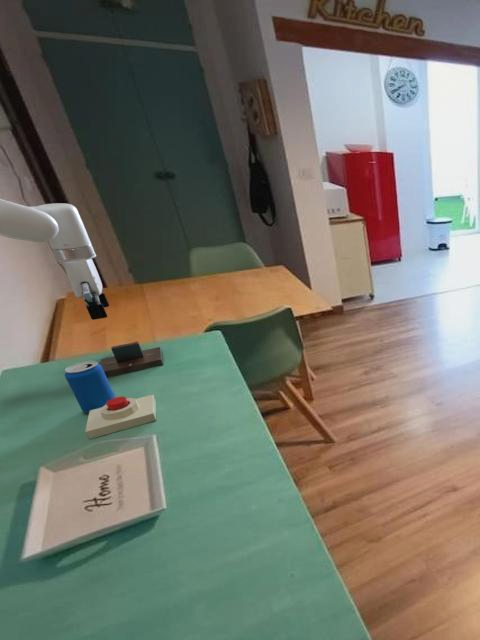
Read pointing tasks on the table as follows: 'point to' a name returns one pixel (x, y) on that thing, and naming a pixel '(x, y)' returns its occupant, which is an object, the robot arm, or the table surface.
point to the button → (117, 403)
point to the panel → (132, 363)
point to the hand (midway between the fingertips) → (101, 312)
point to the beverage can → (89, 385)
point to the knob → (127, 352)
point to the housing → (121, 417)
